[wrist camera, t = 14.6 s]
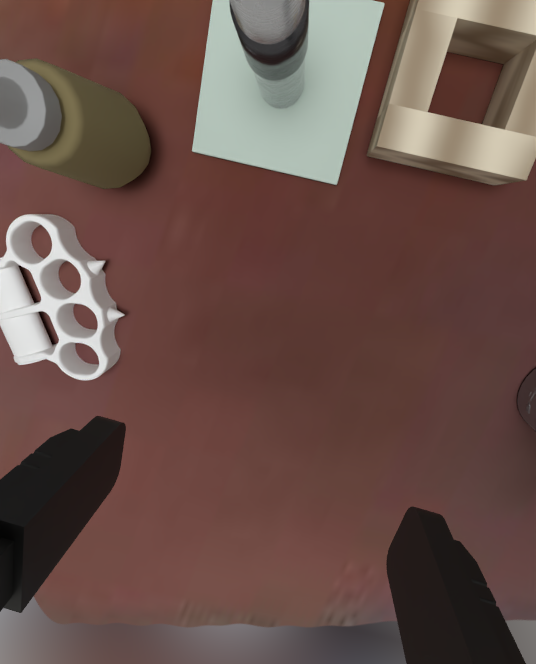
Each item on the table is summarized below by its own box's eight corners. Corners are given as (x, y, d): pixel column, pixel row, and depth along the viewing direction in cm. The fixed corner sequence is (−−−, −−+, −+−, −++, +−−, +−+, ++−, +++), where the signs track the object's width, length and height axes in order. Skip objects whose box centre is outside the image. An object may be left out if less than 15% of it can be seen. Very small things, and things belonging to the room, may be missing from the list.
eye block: (556, 29, 29) (604, -7, 25) (494, 185, 33) (526, 180, 28) (410, -3, 30) (431, -44, 25) (366, 155, 33) (376, 146, 29)
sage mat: (383, 7, 30) (384, 3, 29) (336, 185, 34) (336, 184, 34) (219, -30, 30) (217, -34, 30) (193, 152, 35) (192, 151, 34)
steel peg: (312, 59, 31) (321, -95, 16) (299, 116, 32) (297, 24, 17) (262, 47, 31) (224, -117, 16) (252, 105, 32) (207, 4, 17)
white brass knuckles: (-25, 234, 40) (93, 201, 37) (41, 381, 45) (149, 359, 42) (-54, 236, 37) (74, 200, 34) (21, 393, 42) (137, 371, 39)
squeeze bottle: (146, 87, 33) (-18, -46, 16) (174, 179, 36) (55, 146, 19) (69, 114, 35) (-157, 16, 18) (101, 200, 37) (-73, 188, 20)
